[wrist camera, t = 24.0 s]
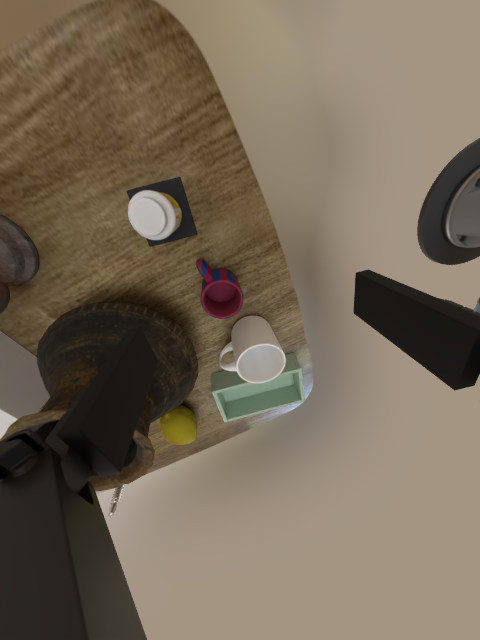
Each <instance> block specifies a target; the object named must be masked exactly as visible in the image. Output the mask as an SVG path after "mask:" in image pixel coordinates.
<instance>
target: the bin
mask: <svg viewBox="0 0 480 640" xmlns="http://www.w3.org/2000/svg"><path fill="white" fill-rule="evenodd" d="M285 357H286V363H285V367H284V369H283V371H282V372H281V373H280V374H279V375H278V376H277V377H276V378H274V379H272V380H270V381H268V382H264V383H250V382H247V381H245V380H244V379H242V378H241V377H240V376H239V374H238V373H237V371H228V370H224V371H221V372H217V373H213V374H212V393H213V396H214V398H215V401H216V403H217V405H218V408H219V410H220V413H221V415H222V417H223V420H224V422H228V421H232V420H236V419H239V418H243V417H247V416H251V415H255V414H258V413H262V412H266V411H270V410H274V409H277V408H281V407H285V406H289V405H292V404H296V403H300V402H304V401H305V394H304V385H303V375H302V368H301V366H300V364H299V362H298V361H297V359H296V357H295V355H294V354H293V353H289V354H285Z"/></svg>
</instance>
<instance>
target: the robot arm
mask: <svg viewBox="0 0 480 640" xmlns="http://www.w3.org/2000/svg"><path fill="white" fill-rule="evenodd" d="M441 230H442V234H443V237H444V239H445V240H446V241H447V242H448V243H449V244H451V245H453V246H458V247H464V248H475V247H480V165H478V166H477V167H475V168H474V169H473V170H472V171H470V172H469V173H468V174H467V175H466V176H465V177H464V178H463V179H462V180H461V181H460V183H459V184H458V185H457V186H456V188H455V189H454V191H453V192H452V194H451V196H450V197H449V199H448V201H447V203H446V206H445V208H444V211H443V215H442V221H441ZM354 314H355V315H357V316H358V317H359V318H361V319H362V320H364V321H365V322H366V323H367V324H368V325H370V326H371V327H372V328H374V329H375V330H376V331H378V332H379V333H380V334H382V335H383V336H384V337H385V338H387V339H388V340H389V341H391V342H392V343H393V344H395V345H396V346H397V347H399V348H400V349H401V350H402V351H404V352H405V353H406V354H408V355H409V356H410V357H412V358H413V359H414V360H416V361H417V362H418V363H420V364H421V365H422V366H423V367H425V368H426V369H427V370H429V371H430V372H431V373H433V374H434V375H435V376H437V377H438V378H439V379H440V380H442V381H443V382H444V383H446V384H447V385H448V386H450V387H451V388H452V389H454V390H458V389H462V388H466V387H470V386H474V385H475V383H476V381H477V378H478V376H479V374H480V298H479V299H478V302H477V305H476V307H475V308H474V310H472V309H469V308H467V307H463V306H462V305H459V304H457V303H454V302H452V301H449V300H444V299H439V298H436V297H433V296H431V295H429V294H426V293H424V292H421V291H419V290H416V289H414V288H412V287H409V286H407V285H404V284H402V283H399V282H397V281H395V280H392V279H390V278H387V277H385V276H382V275H380V274H377V273H375V272H373V271H370V270H365V271H362V272H357V273H356V278H355V297H354ZM158 362H159V361H158V359H157V357H156V355H155V353H154V351H153V349H152V348H151V346H150V344H149V342H148V340H147V338H146V336H145V334H144V332H143V330H142V328H141V327H140V326H139V327H135V328H131V329H128V330H127V331H126V332H125V334H124V335H123V337H122V338H121V340H120V341H119V343H118V344H117V346H116V347H115V349H114V350H113V352H112V353H111V354H110V356H109V357H108V359H107V360H106V362H105V363H104V365H103V366H102V368H101V369H100V371H99V372H98V374H97V375H96V376H95V378H94V379H93V381H92V382H91V383H90V384H88V385H87V386H86V387H85V388H84V389H83V390H82V391H80V392H79V393H78V395H77V396H76V398H75V399H74V400H73V402H72V405H70V406H69V407H68V409H67V410H66V413H65V414H63V416H62V417H61V419H60V420H59V421H58V423H57V424H56V426H55V427H54V428H53V430H52V431H51V433H50V434H49V435H48V437H47V438H46V440H45V441H43V440H42V439H41V438H40V437H39V436H38V435H37V434H35V433H34V432H33V431H32V430H31V429H24V430H21V431H18V432H16V433H14V434H12V435H10V436H8V437H7V438H5V439H4V440H2V441H1V442H0V640H147V638H146V635H145V633H144V630H143V627H142V624H141V621H140V618H139V616H138V612H137V610H136V607H135V604H134V601H133V598H132V595H131V592H130V590H129V587H128V584H127V581H126V578H125V575H124V572H123V570H122V567H121V564H120V561H119V558H118V556H117V553H116V550H115V547H114V544H113V541H112V538H111V535H110V533H109V530H108V527H107V524H106V521H105V518H104V515H103V513H102V510H101V507H100V504H99V501H98V498H97V495H96V492H95V490H94V487H93V484H92V483H91V482H90V481H89V480H88V478H89V476H90V474H91V472H92V470H94V471H95V472H96V473H97V474H98V475H100V476H101V477H103V476H107V475H111V474H116V473H120V472H121V470H122V467H123V464H124V461H125V458H126V455H127V452H128V449H129V446H130V443H131V440H132V438H133V435H134V432H135V429H136V426H137V423H138V420H139V417H140V414H141V411H142V408H143V406H144V403H145V400H146V397H147V394H148V391H149V388H150V385H151V382H152V379H153V376H154V373H155V371H156V368H157V365H158Z"/></svg>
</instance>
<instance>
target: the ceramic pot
mask: <svg viewBox="0 0 480 640" xmlns="http://www.w3.org/2000/svg"><path fill="white" fill-rule="evenodd" d="M139 326H140V327H141V328H142V330H143V332H144V334H145V336H146V338H147V340H148V342H149V344H150V346H151V348H152V349H153V351H154V353H155V355H156V357H157V359H158V361H159V362H158V365H157V368H156V371H155V373H154V376H153V379H152V382H151V385H150V388H149V391H148V394H147V397H146V400H145V403H144V406H143V408H142V411H141V414H140V417H139V420H138V423H137V426H136V429H135V432H134V435H133V438H132V440H131V443H130V446H129V449H128V452H127V455H126V458H125V461H124V464H123V467H122V470H121V472H120V473H116V474H111V475H107V476H103V477H101V476H100V475H98V474H97V473H96V472H95V471H94V470H92V472H91V474H90V476H89V478H88V480H89V481H90V482H91V483H92V484H93V487H94V490H95V491H102V490H107V489H112V488H117V487H119V486H121V485H122V484H129V483H131V482H133V481H134V480H136V479H138V478H140V477H141V476H143V475H145V474H146V473H147V471H148V470H149V469H150V467H151V466H152V465H153V459H154V453H155V451H154V449H153V446H152V444H151V441H150V440H149V438H148V437H147V436H148V431H149V426H150V423H152V422H154V421H155V420H157V419H159V418H160V417H162V416H163V415H164V414H166V413H167V412H169V411H170V410H172V409H174V408H175V407H177V406H178V405H180V404H181V403H182V402H183V401H184V400H185V399H186V398H187V397H188V396H189V394H190V393H191V391H192V390H193V388H194V385H195V382H196V379H197V376H198V362H197V358H196V353H195V351H194V348H193V345H192V343H191V342H190V340H189V339H188V337H187V336H186V334H185V333H184V331H183V330H182V329H181V328H180V327H179V326H178V324H177V323H176V322H175V321H173V320H171V319H170V318H168V317H166V316H164V315H163V314H161V313H159V312H157V311H156V310H153V309H151V308H148V307H145V306H142V305H139V304H135V303H127V302H99V303H93V304H87V305H83V306H81V307H78V308H75V309H73V310H71V311H69V312H67V313H65V314H63V315H61V316H60V317H59V318H58V319H57V320H56V321H55V322H54V323H53V324H52V325H51V326H49V327H48V329H47V330H46V332H45V333H44V335H43V336H42V338H41V339H40V341H39V345H38V349H37V365H38V368H39V372H40V376H41V378H42V379H43V383H44V386H45V389H46V390H47V391H48V393H49V395H50V398H49V400H48V401H47V403H46V404H45V406H44V407H43V409H42V410H41V412H40V413H36V414H31V415H26V416H22V417H21V418H19V419H18V420H17V421H15V422H14V423H12V424H11V425H10V426H9V428H8V429H7V431H6V433H5V434H4V435H3V437H2V438H1V439H0V442H1V441H2V440H4V439H5V438H7V437H8V436H10V435H12V434H14V433H16V432H18V431H21V430H24V429H31V430H32V431H33V432H34V433H35V434H37V435H38V436H39V437H40V438H41V439H42V440H43V441H45V440H46V438H47V437H48V435H49V434H50V433H51V431H52V430H53V428H54V427H55V426H56V424H57V423H58V421H59V420H60V419H61V417H62V416H63V414H65V413H66V410H67V409H68V407H69V406H70V405H72V402H73V400H74V399H75V398H76V396H77V395H78V393H79V392H80V391H82V390H83V389H84V388H85V387H86V386H87V385H88V384H90V383H91V382H92V381H93V379H94V378H95V376H96V375H97V374H98V372H99V371H100V369H101V368H102V366H103V365H104V363H105V362H106V360H107V359H108V357H109V356H110V354H111V353H112V352H113V350H114V349H115V347H116V346H117V344H118V343H119V341H120V340H121V338H122V337H123V335H124V334H125V332H126V331H127V330H128V329H131V328H135V327H139Z"/></svg>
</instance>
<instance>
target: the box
mask: <svg viewBox="0 0 480 640" xmlns="http://www.w3.org/2000/svg"><path fill="white" fill-rule="evenodd" d="M49 398H50V395H49V393H48V391H47V390H46V389H45V386H44V383H43V379H42V378H41V376H40V372H39V368H38V365H37V357H36V356H35V355H33V354H32V353H30V352H29V351H28V350H26V349H25V348H24V347H22V346H21V345H19V344H18V343H17V342H15V341H14V340H13V339H11V338H10V337H8V336H7V335H6V334H4V333H3V332H2V331H0V439H1V438H2V437H3V435H4V434H5V433H6V431H7V429H8V428H9V426H10V425H11V424H12V423H14V422H15V421H17V420H18V419H19V418H21V417H22V416H26V415H31V414H36V413H37V412H38V411H39V410H40V409H41V407H42V406H43V405H44V404H45V403H46V401H47V400H48V399H49Z"/></svg>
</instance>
